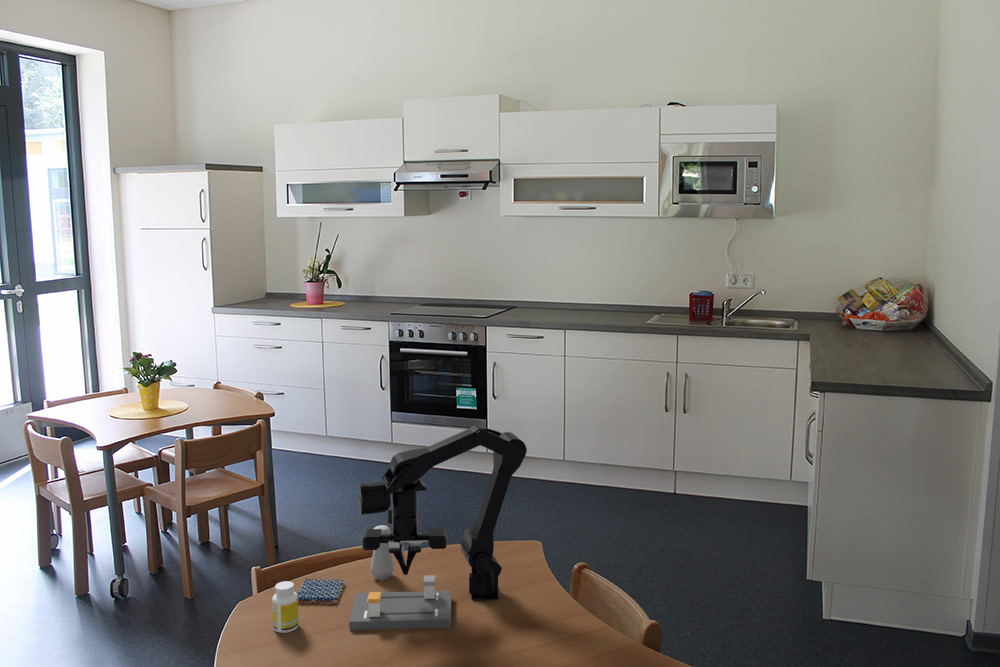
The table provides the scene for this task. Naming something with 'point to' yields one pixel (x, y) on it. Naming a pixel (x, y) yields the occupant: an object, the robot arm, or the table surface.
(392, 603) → the console
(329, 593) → the woven mat
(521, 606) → the table surface
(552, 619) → the table surface
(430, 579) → the grey fader
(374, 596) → the orange fader
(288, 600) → the supplement bottle
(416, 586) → the table surface
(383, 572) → the salt shaker
